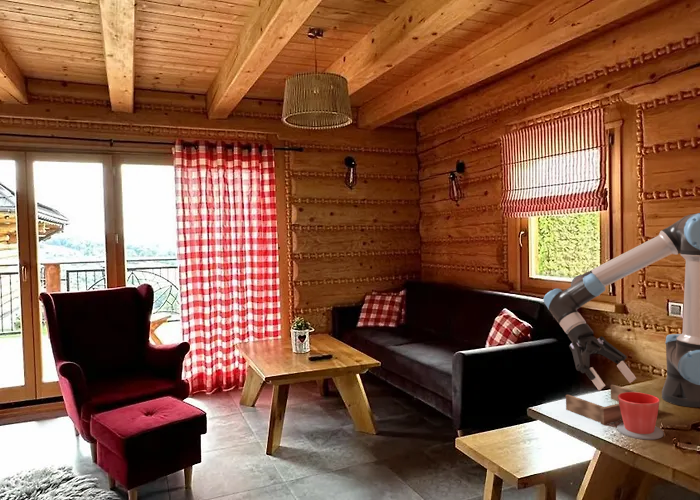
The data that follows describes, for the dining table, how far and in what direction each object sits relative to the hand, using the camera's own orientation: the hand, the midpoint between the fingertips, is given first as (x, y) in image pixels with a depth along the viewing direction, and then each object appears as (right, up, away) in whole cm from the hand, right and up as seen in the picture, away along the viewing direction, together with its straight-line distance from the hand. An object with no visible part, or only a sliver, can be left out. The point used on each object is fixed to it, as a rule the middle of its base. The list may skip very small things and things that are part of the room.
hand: (617, 384), depth 156 cm
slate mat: (+4, -13, -6) cm, 14 cm away
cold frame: (+4, -12, +12) cm, 18 cm away
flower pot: (+4, -12, -5) cm, 14 cm away
